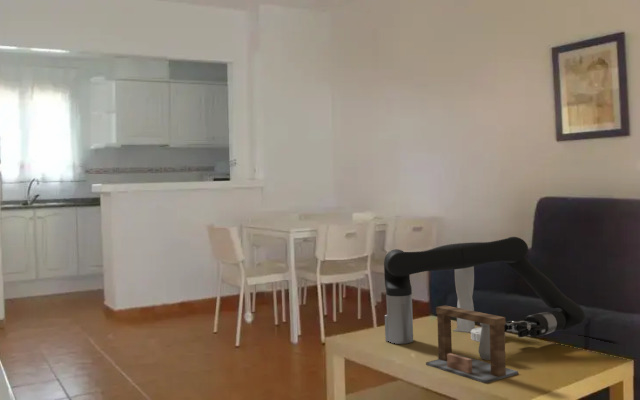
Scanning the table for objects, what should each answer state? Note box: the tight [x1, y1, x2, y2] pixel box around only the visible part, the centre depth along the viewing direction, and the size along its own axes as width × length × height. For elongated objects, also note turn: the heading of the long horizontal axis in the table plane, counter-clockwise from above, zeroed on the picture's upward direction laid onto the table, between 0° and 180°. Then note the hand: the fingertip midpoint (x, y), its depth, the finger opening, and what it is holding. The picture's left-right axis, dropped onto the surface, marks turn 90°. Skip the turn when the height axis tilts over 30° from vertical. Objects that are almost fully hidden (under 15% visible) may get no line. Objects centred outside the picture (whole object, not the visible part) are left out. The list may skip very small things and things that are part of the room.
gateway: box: [425, 304, 519, 384], centre depth 208 cm, size 25×14×18 cm, turn 34°
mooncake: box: [470, 326, 482, 343], centre depth 245 cm, size 12×12×4 cm
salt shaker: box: [478, 323, 491, 361], centre depth 219 cm, size 6×6×13 cm
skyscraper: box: [452, 266, 476, 334], centre depth 258 cm, size 8×8×28 cm
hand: (508, 331), depth 225 cm, fingers open, 8 cm apart
